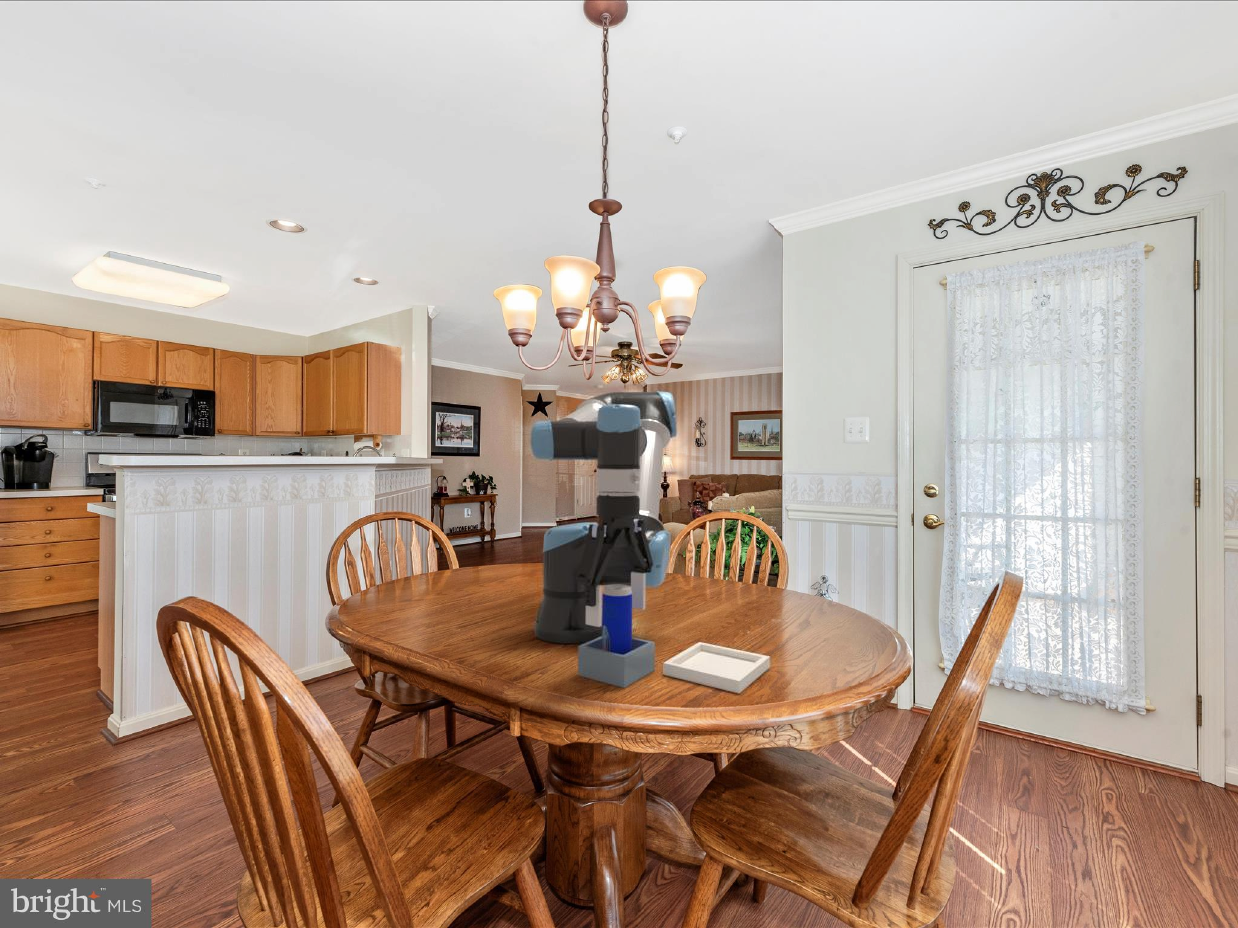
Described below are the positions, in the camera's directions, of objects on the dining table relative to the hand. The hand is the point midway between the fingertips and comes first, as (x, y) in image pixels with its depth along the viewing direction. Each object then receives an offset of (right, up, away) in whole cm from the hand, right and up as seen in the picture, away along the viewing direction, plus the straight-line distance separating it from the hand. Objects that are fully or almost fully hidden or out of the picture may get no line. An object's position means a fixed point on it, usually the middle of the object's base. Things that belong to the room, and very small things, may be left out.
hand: (617, 616), depth 100 cm
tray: (+18, -10, +1) cm, 20 cm away
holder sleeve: (0, -10, 0) cm, 10 cm away
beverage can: (0, -10, 0) cm, 10 cm away
